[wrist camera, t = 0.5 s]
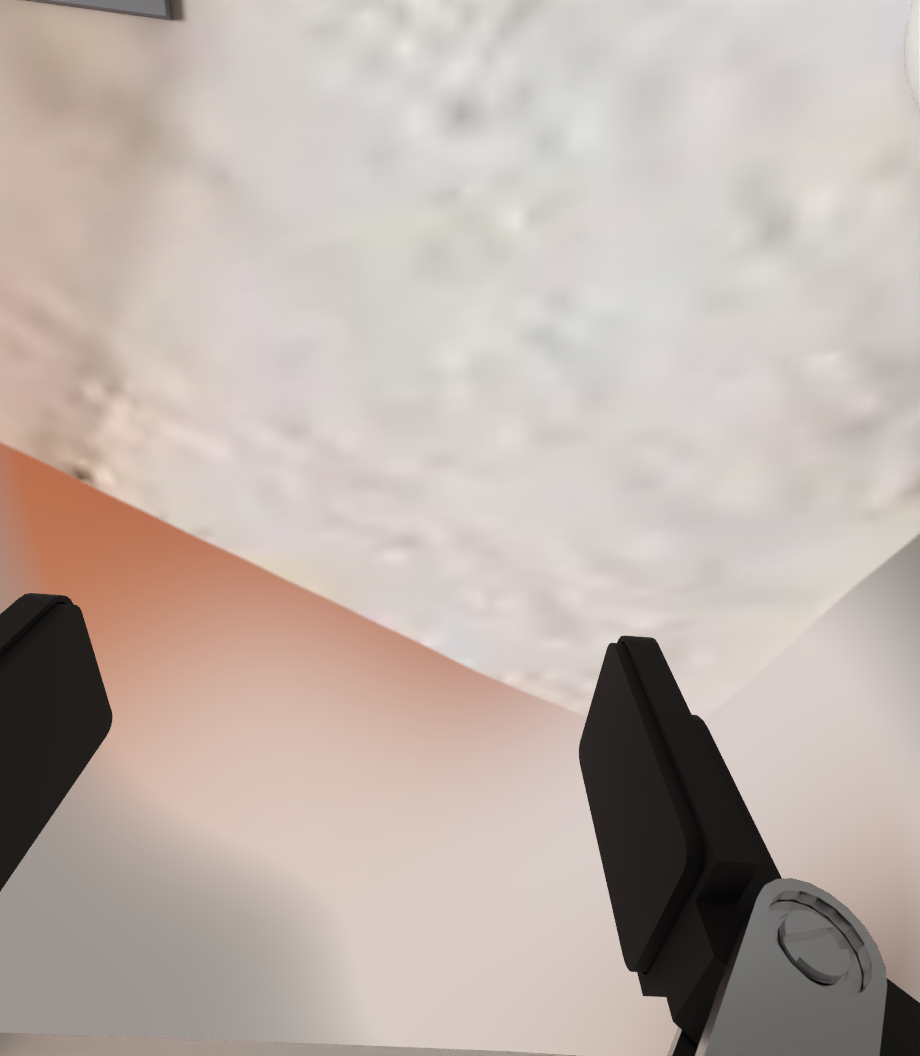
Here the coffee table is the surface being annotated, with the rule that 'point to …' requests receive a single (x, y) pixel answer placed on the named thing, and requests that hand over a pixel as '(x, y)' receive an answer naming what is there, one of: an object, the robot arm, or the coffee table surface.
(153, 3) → the mat
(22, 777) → the robot arm
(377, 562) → the coffee table surface
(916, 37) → the flower in vase
